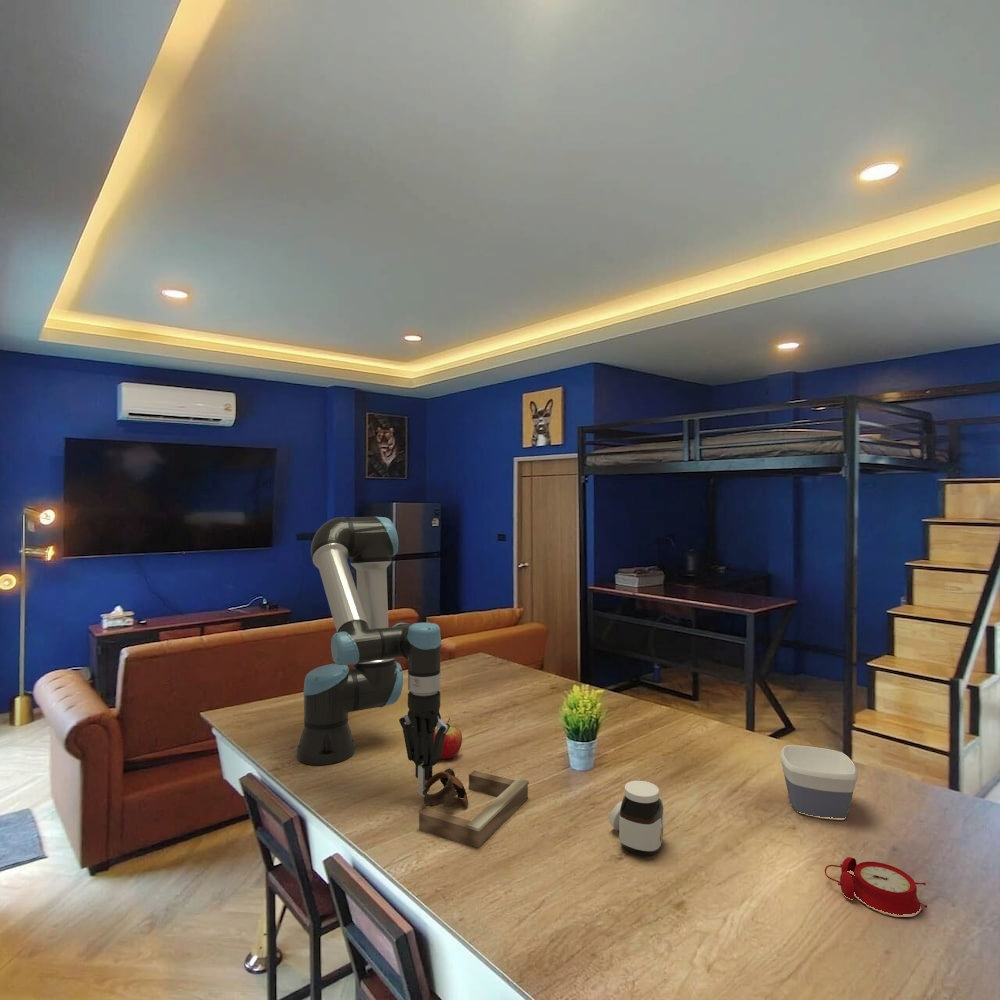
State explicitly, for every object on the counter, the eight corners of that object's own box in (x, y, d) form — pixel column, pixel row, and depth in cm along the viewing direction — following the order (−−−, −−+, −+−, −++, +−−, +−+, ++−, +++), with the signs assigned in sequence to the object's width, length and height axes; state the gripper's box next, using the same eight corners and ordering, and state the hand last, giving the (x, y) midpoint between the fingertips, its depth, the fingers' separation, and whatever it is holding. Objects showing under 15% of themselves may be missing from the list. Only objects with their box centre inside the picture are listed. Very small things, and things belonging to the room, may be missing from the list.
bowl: (848, 797, 144) (848, 750, 144) (863, 831, 129) (864, 778, 129) (777, 787, 149) (777, 741, 149) (784, 818, 134) (784, 767, 134)
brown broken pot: (471, 817, 135) (454, 789, 133) (433, 833, 136) (415, 806, 134) (472, 779, 147) (456, 752, 145) (437, 794, 148) (420, 768, 145)
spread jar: (652, 864, 117) (652, 803, 117) (597, 846, 123) (597, 788, 123) (670, 835, 127) (670, 779, 127) (618, 820, 133) (619, 766, 133)
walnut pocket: (418, 830, 129) (418, 810, 129) (474, 784, 150) (474, 767, 150) (478, 848, 122) (478, 828, 122) (528, 798, 143) (528, 780, 143)
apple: (467, 753, 168) (467, 717, 168) (452, 765, 160) (452, 727, 160) (441, 748, 171) (441, 712, 171) (425, 760, 163) (425, 722, 163)
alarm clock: (930, 908, 99) (829, 859, 107) (920, 942, 100) (820, 891, 108) (927, 875, 108) (833, 832, 116) (917, 907, 109) (825, 862, 117)
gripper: (391, 691, 142) (391, 792, 142) (438, 700, 136) (438, 806, 136) (411, 682, 149) (410, 779, 149) (456, 690, 142) (456, 792, 142)
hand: (423, 792), depth 142 cm, fingers closed
